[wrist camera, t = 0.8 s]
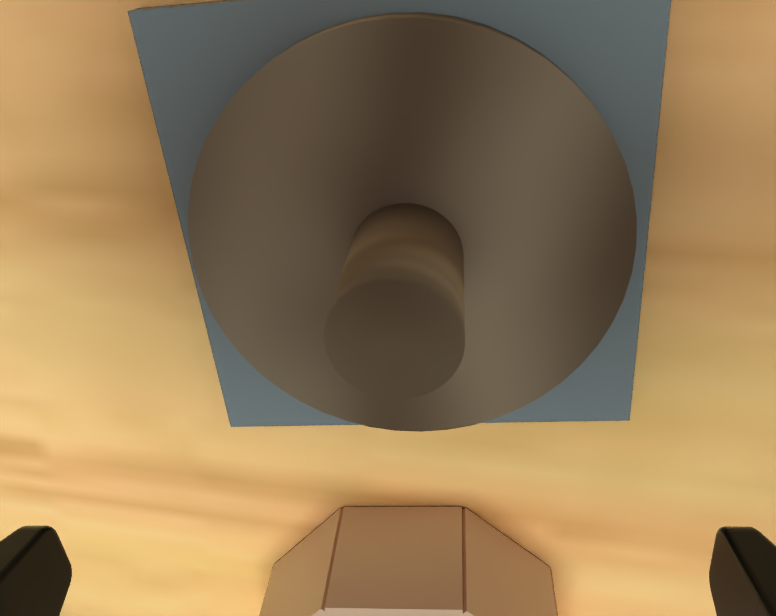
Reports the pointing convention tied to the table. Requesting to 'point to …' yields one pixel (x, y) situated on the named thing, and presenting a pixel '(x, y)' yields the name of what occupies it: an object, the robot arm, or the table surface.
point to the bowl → (408, 568)
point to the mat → (344, 3)
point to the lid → (412, 222)
